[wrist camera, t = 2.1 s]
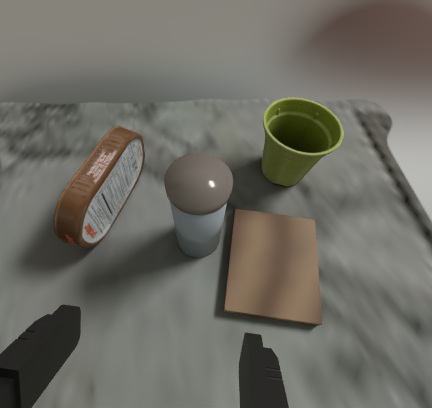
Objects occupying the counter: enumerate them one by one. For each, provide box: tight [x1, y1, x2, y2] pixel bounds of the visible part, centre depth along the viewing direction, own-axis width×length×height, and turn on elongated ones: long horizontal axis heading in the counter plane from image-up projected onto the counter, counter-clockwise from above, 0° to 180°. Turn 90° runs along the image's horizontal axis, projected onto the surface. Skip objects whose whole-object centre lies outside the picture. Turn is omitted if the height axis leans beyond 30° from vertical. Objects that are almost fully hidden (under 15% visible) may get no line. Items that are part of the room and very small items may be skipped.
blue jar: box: [164, 153, 233, 258], centre depth 26 cm, size 6×6×12 cm
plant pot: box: [262, 98, 344, 186], centre depth 34 cm, size 9×9×9 cm
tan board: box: [224, 208, 322, 326], centre depth 30 cm, size 10×12×1 cm
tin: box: [54, 126, 145, 248], centre depth 30 cm, size 15×3×8 cm, turn 163°
